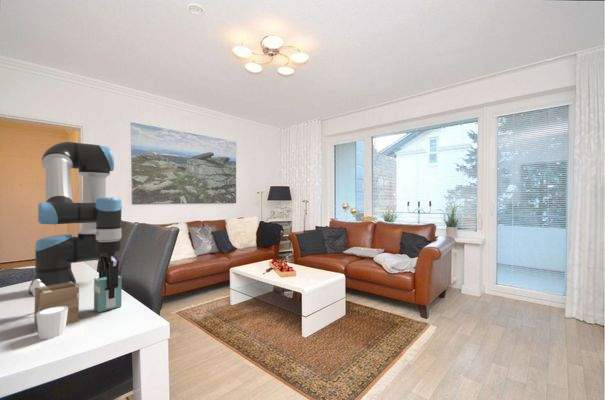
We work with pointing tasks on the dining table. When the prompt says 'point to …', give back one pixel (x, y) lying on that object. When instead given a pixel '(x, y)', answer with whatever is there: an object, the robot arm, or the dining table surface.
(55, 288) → the cardboard box
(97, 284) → the block
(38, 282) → the figurine
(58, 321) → the shot glass
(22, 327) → the dining table surface
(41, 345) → the dining table surface
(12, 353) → the dining table surface
